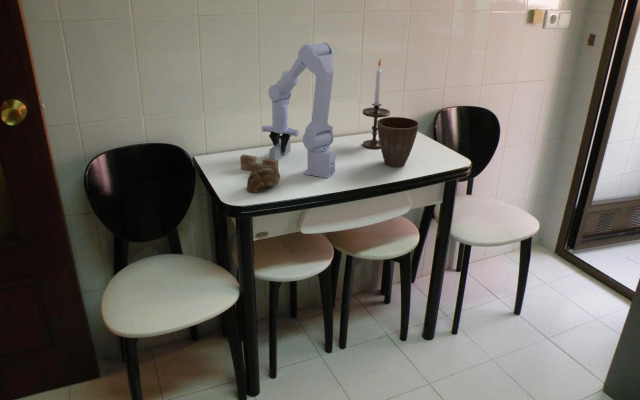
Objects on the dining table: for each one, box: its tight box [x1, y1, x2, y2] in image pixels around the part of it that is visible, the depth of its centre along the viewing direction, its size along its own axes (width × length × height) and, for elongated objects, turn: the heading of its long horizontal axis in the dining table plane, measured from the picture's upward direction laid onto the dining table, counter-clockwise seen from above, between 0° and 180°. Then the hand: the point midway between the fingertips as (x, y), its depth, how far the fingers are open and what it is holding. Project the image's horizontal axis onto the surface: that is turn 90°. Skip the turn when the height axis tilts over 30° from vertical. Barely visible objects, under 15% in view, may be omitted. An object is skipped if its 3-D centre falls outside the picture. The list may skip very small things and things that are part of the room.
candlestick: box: [362, 59, 391, 150], centre depth 203 cm, size 11×11×35 cm
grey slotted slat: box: [269, 138, 292, 161], centre depth 195 cm, size 14×2×5 cm, turn 158°
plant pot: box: [377, 116, 420, 168], centre depth 189 cm, size 15×15×16 cm
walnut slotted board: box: [239, 154, 280, 173], centre depth 181 cm, size 14×2×5 cm, turn 68°
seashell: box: [245, 165, 281, 193], centre depth 167 cm, size 11×9×8 cm
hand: (280, 151), depth 196 cm, fingers closed on grey slotted slat, 2 cm apart
